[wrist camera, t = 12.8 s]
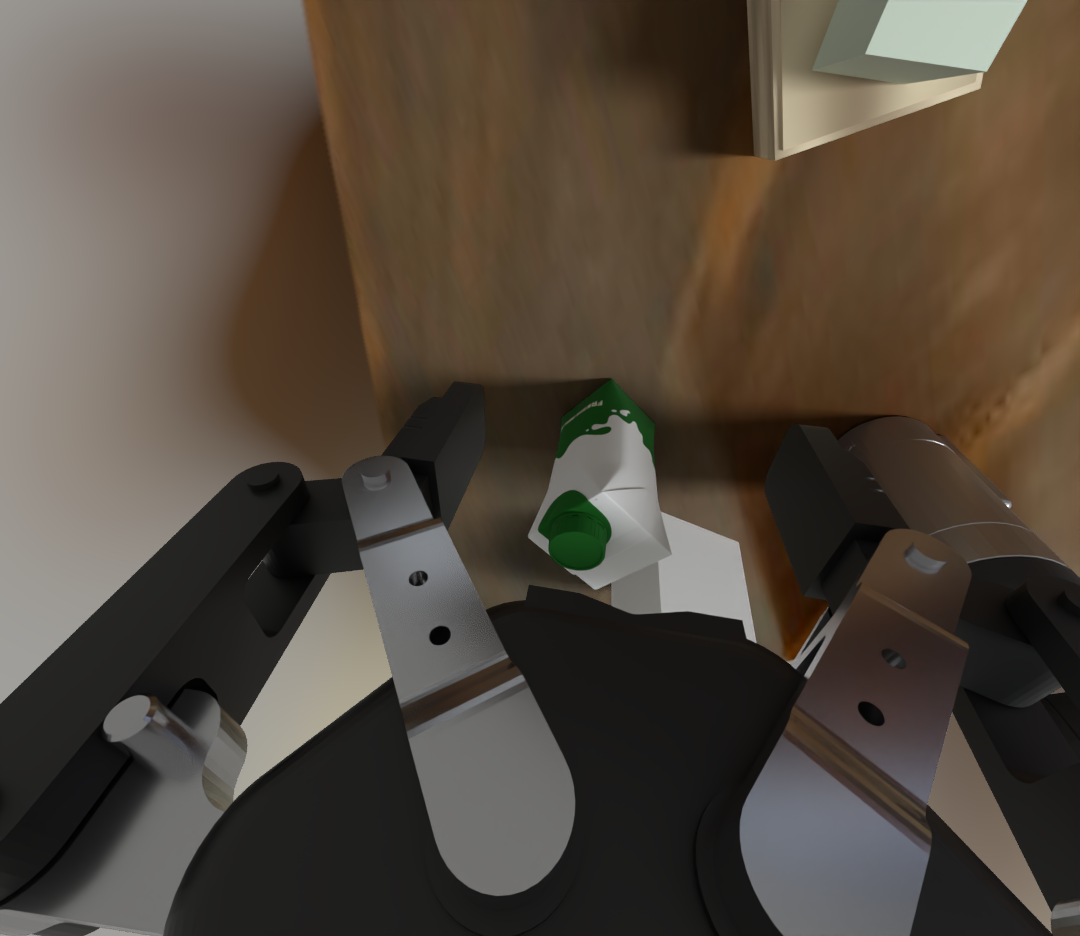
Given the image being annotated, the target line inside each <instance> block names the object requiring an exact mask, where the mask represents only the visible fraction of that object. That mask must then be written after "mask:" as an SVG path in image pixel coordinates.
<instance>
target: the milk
mask: <svg viewBox="0 0 1080 936" xmlns="http://www.w3.org/2000/svg"><path fill="white" fill-rule="evenodd" d="M661 515H662V519H663V523H664V527H665V530H666V534H667V538H668V541H669V545H670V549H671V552H672V555H670V556H668V557H666V558H664V559H662V560H659V561H657V562H655V563H653V564H651V565H649V566H646V567H644V568H642V569H640V570H638V571H636V572H633V573H631V574H629V575H627V576H625V577H623V578H620V579H618V580H616V581H614V582H612V583H611V596H612V606H613V607H615V608H618V609H620V610H623V611H625V612H628V613H631V614H652V613H668V612H684V611H690V612H696V613H702V614H708V615H714V616H720V617H726V618H732V619H738V620H742V621H743V625H744V630H745V634H746V638H747V639H748V640H751V641H753V642H755V643H756V638H755V632H754V627H753V621H752V615H751V610H750V604H749V598H748V593H747V587H746V581H745V576H744V570H743V564H742V559H741V553H740V547H739V542H736V541H734V540H731V539H729V538H726V537H724V536H721V535H719V534H716V533H714V532H711V531H708V530H706V529H703V528H701V527H698V526H696V525H693V524H691V523H688V522H686V521H683V520H681V519H678V518H675V517H673V516H670V515H668V514H665V513H663V512H661Z"/></svg>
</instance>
